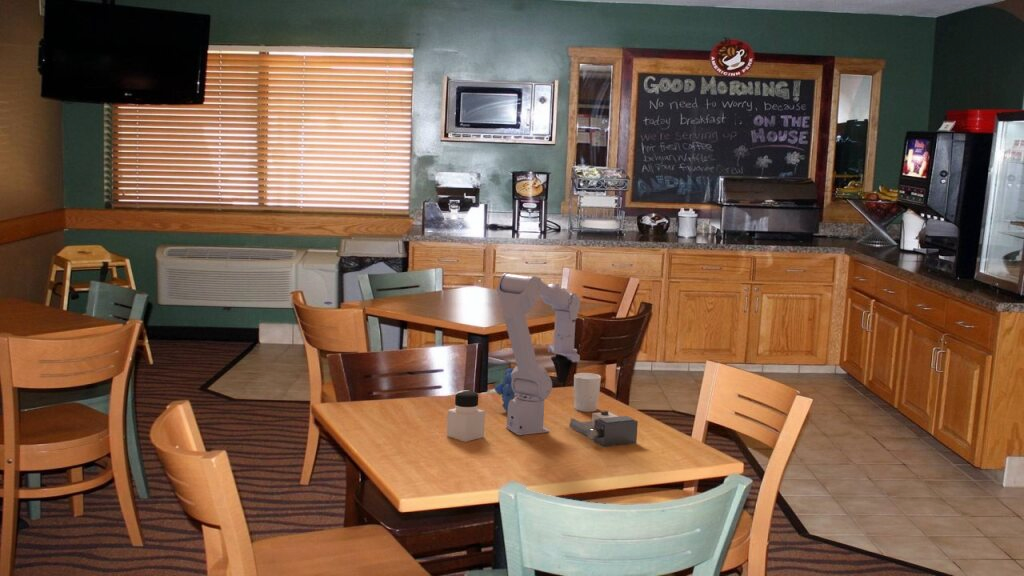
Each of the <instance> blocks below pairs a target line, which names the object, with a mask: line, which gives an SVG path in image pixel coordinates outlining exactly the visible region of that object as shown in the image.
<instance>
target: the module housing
mask: <svg viewBox="0 0 1024 576" xmlns="http://www.w3.org/2000/svg"><path fill="white" fill-rule="evenodd" d="M569 422H570V423H569V428H571V429H573V430H575V431H576V432H578V433H580V434H582V435H583V436H585V437H587V438H588V439H589V440H593V443H596V444H597V445H599V446H601V448H602V447H603V448H608V447H616V446H617V447H619V446H625V445H626V446H627V445H633V444H634V445H636V444H637V442H638V441H637V438H638V425H639V424H638V423H639V421H638V420H636V419H634V418H632V417H630V416H627V415H623V416H619V417H611V418H601V419H595V423H594V429H593V428H592V420H589V421H580V420H578V419H575V418H574V417H571V418H570V421H569Z"/></svg>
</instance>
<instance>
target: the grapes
mask: <svg viewBox="0 0 1024 576" xmlns="http://www.w3.org/2000/svg"><path fill="white" fill-rule="evenodd" d="M513 369H514V368H511V367H510V368H507V370H506V371H504V377H503V381H502V383H498V384H497V385H496V386H495V387H494V391H495V392H496V394H497V395H498V396H500V395H501V398H502V399H501V400H502V402H503V404H502V405H501V406H502V408H503V409H504V410H505V411H506V412H507V411H508V403H509V401H510V400H512V399H516V397H515V395H516V393H514V392H513V390H512V385H511V383H512V378H511V373H512V371H513Z"/></svg>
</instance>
